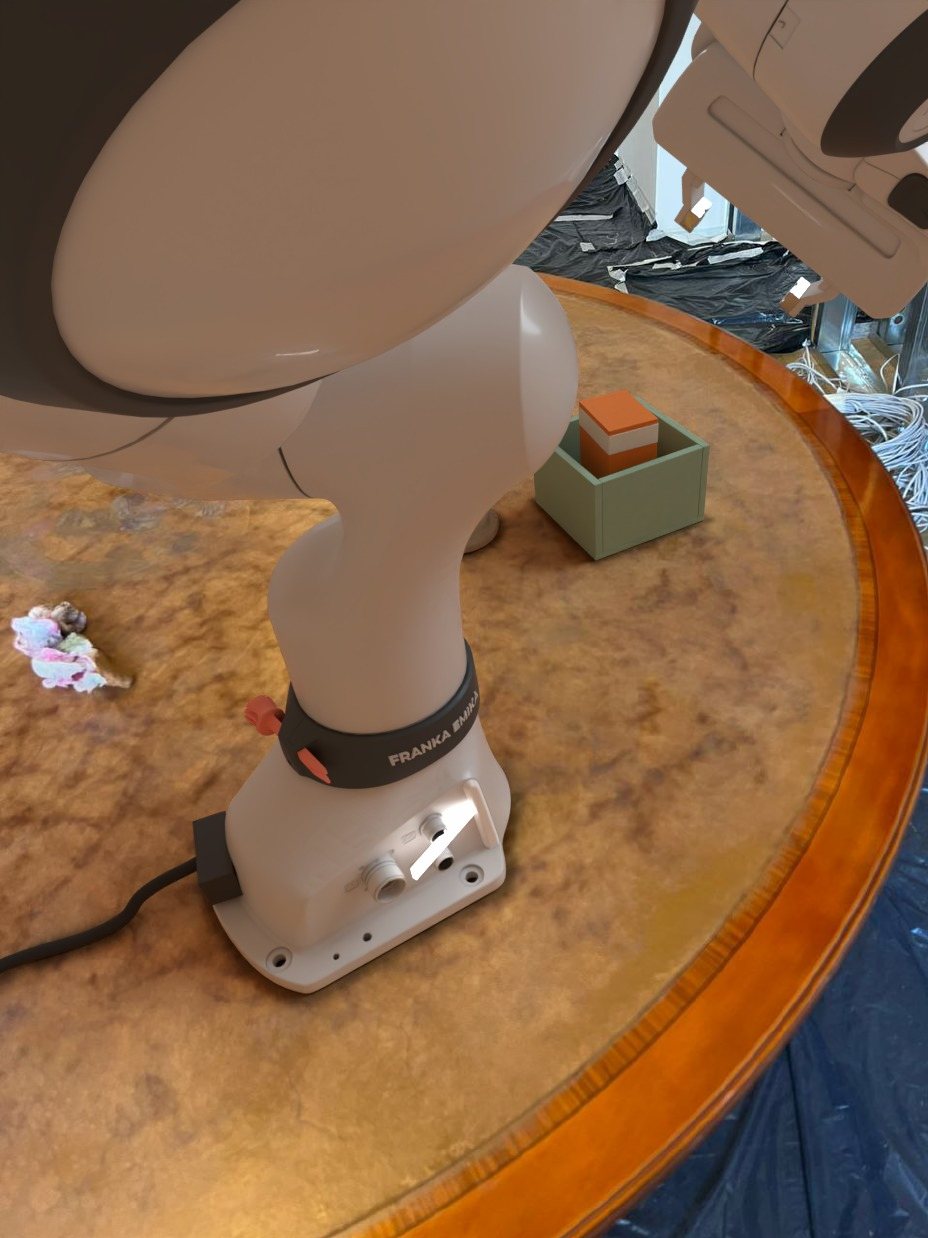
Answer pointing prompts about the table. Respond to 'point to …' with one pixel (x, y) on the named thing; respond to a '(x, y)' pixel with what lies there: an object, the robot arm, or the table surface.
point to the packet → (615, 433)
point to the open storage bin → (626, 491)
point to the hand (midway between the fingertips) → (737, 264)
